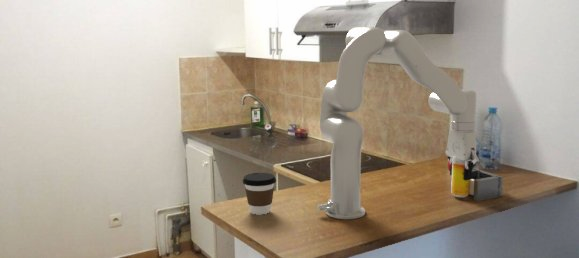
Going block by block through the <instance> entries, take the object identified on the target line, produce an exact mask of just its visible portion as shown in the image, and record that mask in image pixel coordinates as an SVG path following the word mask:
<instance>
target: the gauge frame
mask: <svg viewBox="0 0 579 258" xmlns="http://www.w3.org/2000/svg"><path fill="white" fill-rule="evenodd" d="M476 169H477V170H480V179H477V176H478V171H475V170H472V179H474V195H472V196H473V199H472V200H474V201H476V202H480V201H484V200H485V201H486V200H490V199H496V198H500V197H503V184H504V183H503V182H504V177H503V176H502V175H501V176H500V175H498V174H494V173H493V172H492V173H491V172H489V171H485V170H483V169H478V168H476Z"/></svg>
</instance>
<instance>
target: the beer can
mask: <svg viewBox="0 0 579 258" xmlns="http://www.w3.org/2000/svg"><path fill="white" fill-rule="evenodd" d="M469 159H470V158H469ZM469 162H470V161H468V164H469ZM464 169H466V168H465V164H464V161H461V160H459V159H458V158H457V157H456V156H453V158H452V176H451V183H450V184H451V185H450V193H451V194H452V196H453V197H457V198H467V197H468V196H469V195H470V194H469V188H470V180H464Z"/></svg>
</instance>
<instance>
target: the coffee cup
mask: <svg viewBox="0 0 579 258" xmlns="http://www.w3.org/2000/svg"><path fill="white" fill-rule="evenodd" d="M242 183H243V185H244V189H245V195H246V199H247V200H246V201H247V204H248V207H249V211H250V213H251V214H252V215H254V214H256V215H255V216H263V215H262V214H265V215H268V214H269V213H270V212H271V210H272V209H271V208H272V203H273V199H274V190H275V183H277V178H276V176H275V175H274V174H272V173H269V172H253V173H248V174H245V175H244V176H243V179H242ZM267 213H268V214H267Z"/></svg>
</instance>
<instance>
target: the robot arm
mask: <svg viewBox="0 0 579 258" xmlns="http://www.w3.org/2000/svg"><path fill="white" fill-rule="evenodd" d="M344 42H345V46H346V47H345V48H343V51H342V53H341V55H340V57H339V61H338V65H337V74H336V79H333V80H331V81H329V82H328V83H327V84H326V85H325V86H324V88H323V91H322V95H321V104H320V113H319V114H320V117H319V129H320V133H321V135H322V137H323V138H325V140H328V141H330V142H331V143H332V148H331V153H330V160H329V161H330V165H329V166H330V198H329V199H327V202H325V203H322V204H320V203H319V204H316V210H317V211H318V212H319V211H320V212H321V211H324V212H325V214H326V215H327V216H328V217H330V218H334V219H338V220H355V219H359V218H362V217H364V216H365V214H366V208H364V207H363V206H361V169H362V168H361V164H362V163H361V160H362V146H363V141H364V135H365V133H364V128H363V125H362V124H361V123H360V122H359V121H358V120H357V119H356V118H354V117H352V116H349V115H348V113H353V112H357V111H358V110H359V109H360V108H361V106H362V104H363V98H364V97H363V96H364V85H365V77H366V76H365V75H366V69H367V67H368V64H369V62H370V61H371V59H372V58H373V57H374V56H384V57H385V56H386V57H387V56H388V57H394V59H396V61H397V63H398V64H399V65H400V66H401V68H402V69H403V70H404V71H405V73H406V74H407V75H408V77H409V78H410V79H411V80H412V81H413V82H415V83H416V84H418V85H420V86H421V87H424V88H426V89H428V90H429V91H431V93H430V95H429V97H428V101H427V102H428V105H429V107H430V109H432V110H433V111H435V112H438V113H442V114H447V115H451V128H450V129H449V132H448V136H447V143H446V144H447V145H446V150H445V151H444V153H445V154H446V156H447V159H448V161H449V163H450V171H449V175H450V176H451V177H452V158H453V156H456V157H457V158H458V159H459V160H461V161H464V164H465V168H466V169H464V180H471V179H472V168H474V169H475V166H476V165H477V164H478V163H480V159H479V157H478V155H477V134H476V130H475V127H476V112H477V111H476V107H477V93H476V91H475V90H472V89H461V87H460V86H459V84H457V82H456V81H455V80H454V79H453V77H451V76H449V75H448V73H446V72H445V71H444V70H443V69H442V68H440V67H439V66H437V64H435V63H434V62H433V60H431V58H430V57H429V56H428V55H427V53H426V52H425V50H424V49H423V47H422V46H421V45H420V43H419V42H418V40H417V39H416V38H415V37H414V35H413V34H412V33H411V32H409V31H407V30H404V29H381V28H380V27H376V26H357V27H356V26H355V27H353V28H352V29H350V30H349V31H348V33H347V34H346V36H345V41H344ZM469 158H470V159H469ZM468 161H470V162H469V164H468Z"/></svg>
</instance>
